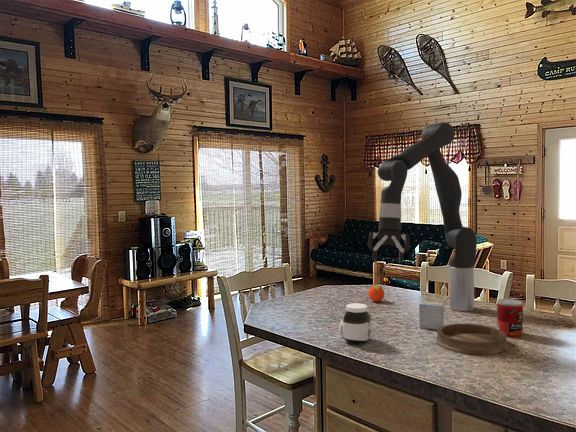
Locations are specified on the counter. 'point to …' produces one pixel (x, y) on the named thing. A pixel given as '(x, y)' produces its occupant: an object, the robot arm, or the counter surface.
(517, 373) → the counter surface
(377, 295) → the clementine
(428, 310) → the medicine box
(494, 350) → the round wooden tray
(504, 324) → the canned food
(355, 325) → the spread jar
